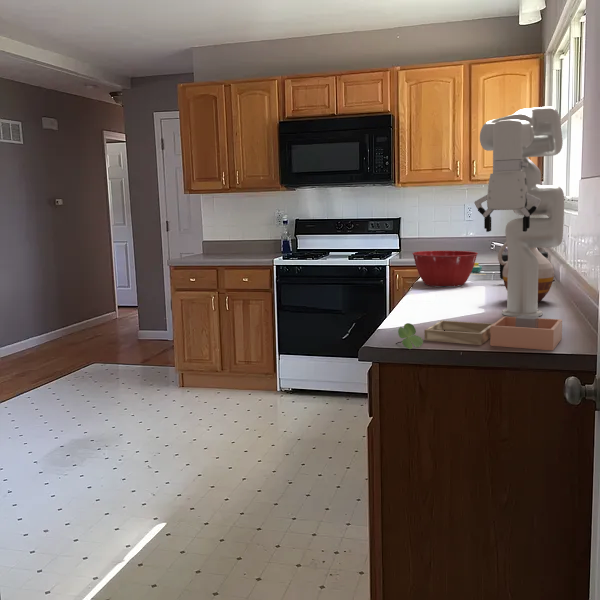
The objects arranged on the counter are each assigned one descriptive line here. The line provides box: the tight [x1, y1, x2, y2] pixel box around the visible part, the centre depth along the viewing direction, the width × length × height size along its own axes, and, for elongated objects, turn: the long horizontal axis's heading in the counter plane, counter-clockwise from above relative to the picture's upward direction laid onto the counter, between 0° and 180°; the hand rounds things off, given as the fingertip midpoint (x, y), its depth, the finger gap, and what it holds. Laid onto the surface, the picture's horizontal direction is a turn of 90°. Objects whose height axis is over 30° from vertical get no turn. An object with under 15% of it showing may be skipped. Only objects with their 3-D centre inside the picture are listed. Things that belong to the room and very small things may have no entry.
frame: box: [424, 320, 494, 346], centre depth 184 cm, size 16×16×3 cm
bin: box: [489, 315, 563, 351], centre depth 175 cm, size 16×16×5 cm
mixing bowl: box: [411, 250, 478, 287], centre depth 291 cm, size 28×28×15 cm
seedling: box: [395, 323, 424, 350], centre depth 175 cm, size 7×8×7 cm
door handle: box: [499, 251, 549, 280], centre depth 284 cm, size 3×20×16 cm, turn 76°
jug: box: [497, 241, 555, 303], centre depth 239 cm, size 20×18×30 cm
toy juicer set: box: [470, 262, 487, 276], centre depth 337 cm, size 29×18×8 cm, turn 174°
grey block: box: [515, 315, 539, 328], centre depth 175 cm, size 5×5×6 cm
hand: (506, 231), depth 179 cm, fingers open, 9 cm apart
